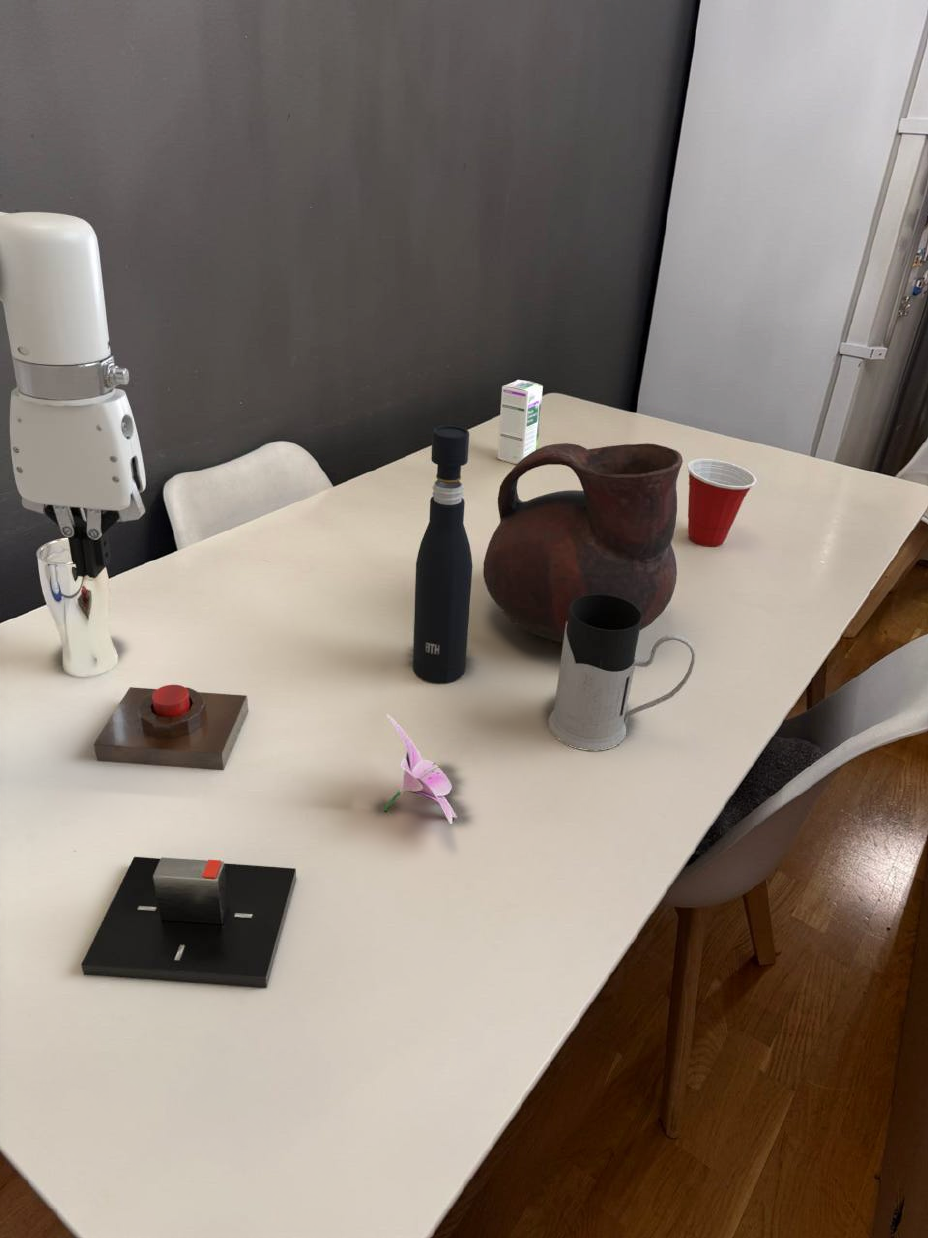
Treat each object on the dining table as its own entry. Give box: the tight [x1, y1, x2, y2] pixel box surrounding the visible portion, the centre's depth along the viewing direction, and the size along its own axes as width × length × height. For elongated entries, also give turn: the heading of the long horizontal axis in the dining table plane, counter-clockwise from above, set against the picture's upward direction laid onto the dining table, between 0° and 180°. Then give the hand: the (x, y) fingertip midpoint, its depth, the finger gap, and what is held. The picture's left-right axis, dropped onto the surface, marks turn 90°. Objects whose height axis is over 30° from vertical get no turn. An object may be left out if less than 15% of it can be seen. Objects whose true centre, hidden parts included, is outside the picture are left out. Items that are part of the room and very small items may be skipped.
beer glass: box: [36, 537, 119, 678], centre depth 100 cm, size 7×7×15 cm
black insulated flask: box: [412, 425, 473, 685], centre depth 100 cm, size 6×6×30 cm
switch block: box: [93, 686, 249, 771], centre depth 93 cm, size 13×10×4 cm
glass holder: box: [548, 594, 696, 751], centre depth 95 cm, size 9×14×15 cm, turn 73°
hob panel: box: [80, 856, 297, 989], centre depth 72 cm, size 14×11×3 cm
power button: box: [152, 684, 190, 717], centre depth 92 cm, size 4×4×2 cm
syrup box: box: [497, 379, 544, 465], centre depth 167 cm, size 6×6×14 cm
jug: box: [482, 442, 684, 644], centre depth 113 cm, size 25×25×25 cm
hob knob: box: [153, 857, 229, 924], centre depth 70 cm, size 5×2×5 cm, turn 88°
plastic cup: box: [687, 458, 758, 547], centre depth 141 cm, size 11×11×12 cm
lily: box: [382, 712, 458, 825], centre depth 84 cm, size 12×12×10 cm
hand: (92, 570), depth 83 cm, fingers closed
